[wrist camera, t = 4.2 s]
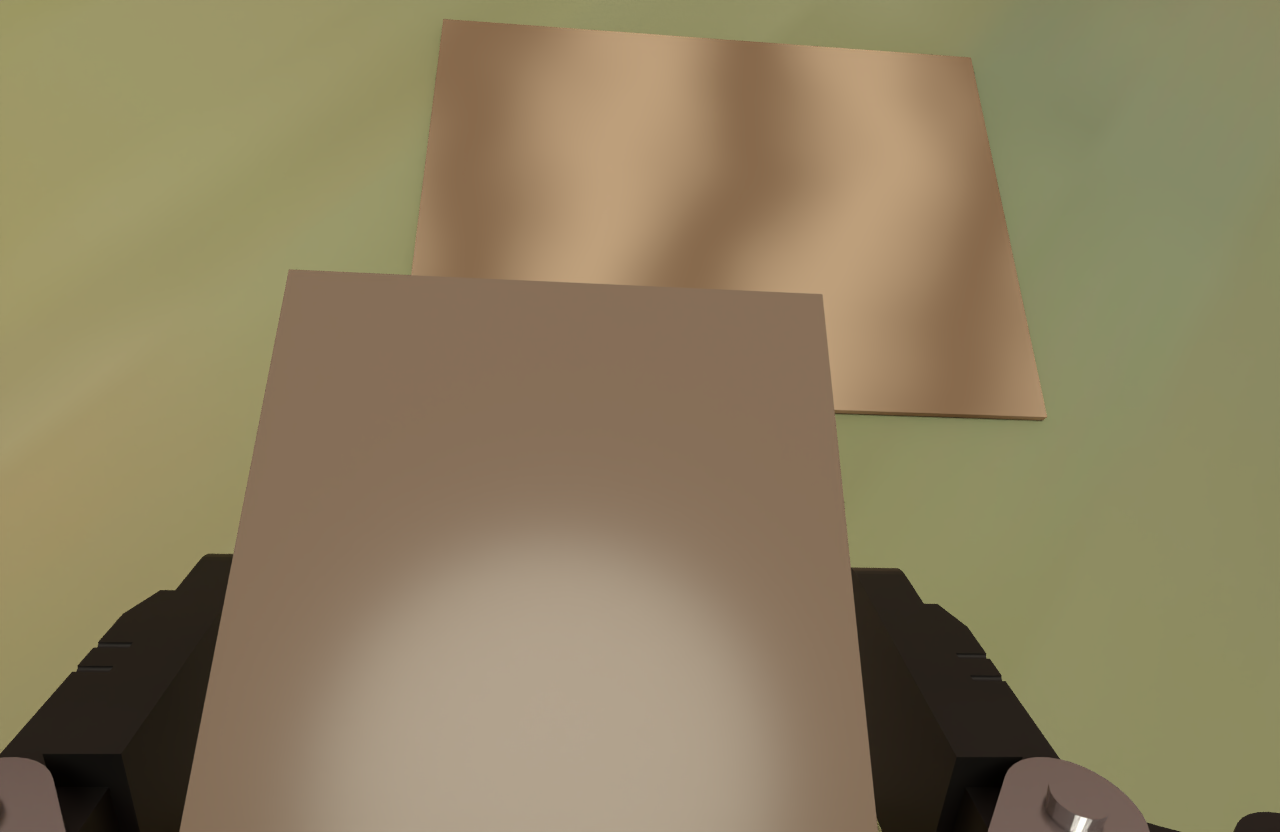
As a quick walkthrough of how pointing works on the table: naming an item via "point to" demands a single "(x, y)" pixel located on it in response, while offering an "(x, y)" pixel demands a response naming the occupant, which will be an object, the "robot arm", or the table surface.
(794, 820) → the canister
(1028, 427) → the table surface
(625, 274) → the mat
